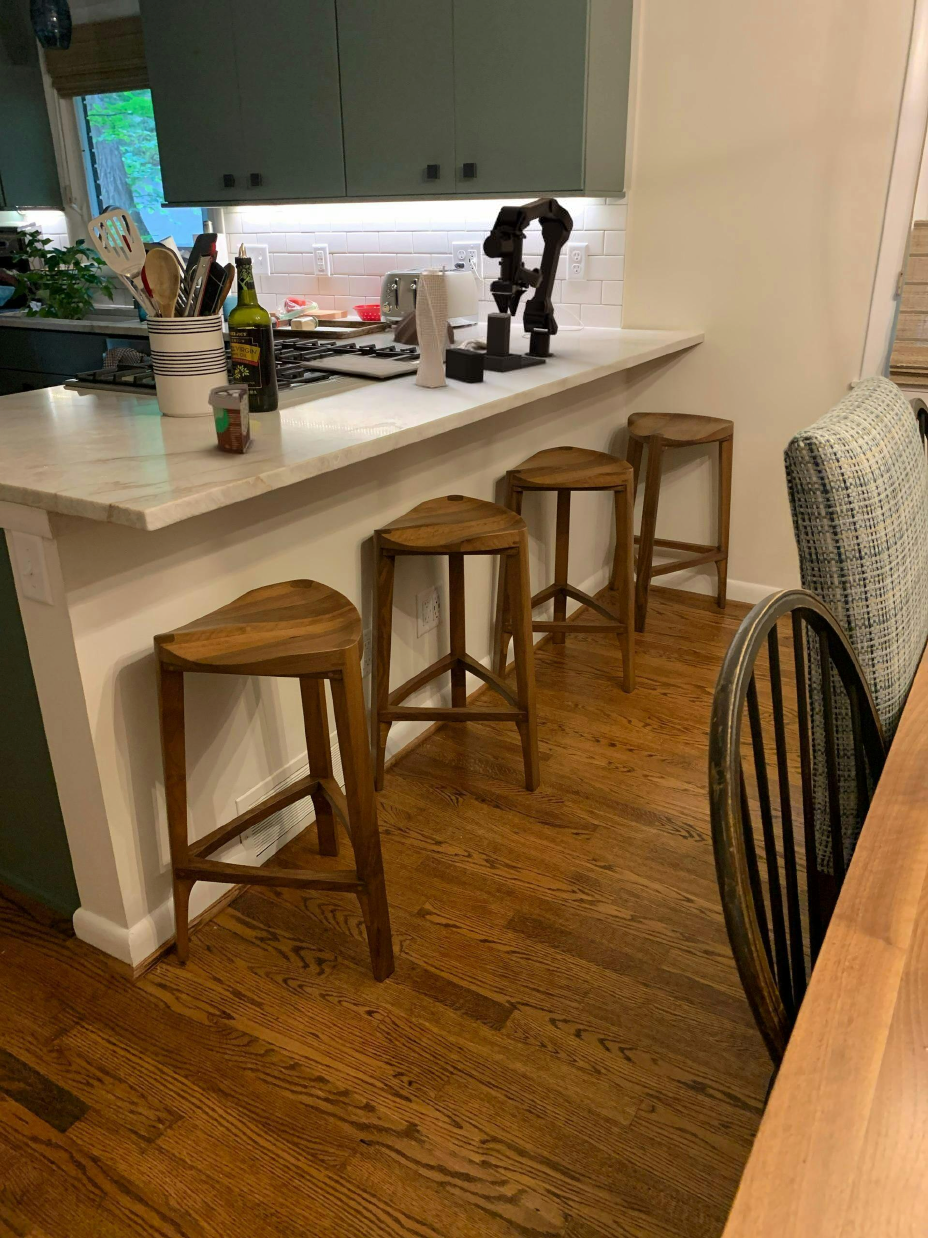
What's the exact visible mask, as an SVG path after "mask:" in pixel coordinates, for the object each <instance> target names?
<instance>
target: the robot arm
mask: <svg viewBox="0 0 928 1238" xmlns="http://www.w3.org/2000/svg"><path fill="white" fill-rule="evenodd" d="M537 219H538V220H537ZM534 220H537V222H538V223H539V225H540V227H541V233H540V234H541V237H542V240H543V243H544V245H543V250H542V255H541V260H540V265H539V268H538V267H534V268H533V269H530V268H526V267H525V266H526V264H525V261H523V252H524V251H523V250H524V240H526V239H527V238H528V237H527V235H526V234H525V232H524V230H526V229H527V228H528V227H529V226H530V225H531V222H532V221H534ZM573 228H574V220H573V218H572V216H571V214H570V212H569V210H568V209H566V208H565V207H563V206H562V205H561V204H560V203H559V202H558V200H557V198H554V197H540V198H538V199H536V200H533V201H531V202H528V203H524V204H522V205H503V206H502V207H501V208H500V210H499V211H498V214H497V216H496V218H495V221H494V224H493V226H492V229H490V231H489V234H488V236H486V238H485V239H484V241H483V243H482V250H483V254H484V255H485V257H487V258H489V259H500V260H498V266H500V269H499V270H500V271H499V273H500V274H499V277H497V279H496V280H493V281H492V282H491V283H490V284H489V292H490V293H491V296H492V297H493V300H494V302H495V304H496V308H497V311H498V313H509V314H511V318H512V317H516V314H517V312H518V307H519V304H520V301H521V298H522V297H523V295H525V293H526V292H528V289H530V287H531V288H533V289H535V290H534V294H533V296H532V297H531V298H530V299H527V300H526V302H525V305H524V311H523V312H522V313H523V315H522V324H523V332H524V333H525V334H527V333H528V334H529V346H528V352H524V355H526V356H533V357H539V358H545V357H549V356H554V354H555V353H554V352H550V348H551V347H550V346H551V336H556V335H557V334H558V330H559V326H558V323H557V321H556V318H555V316H554V313H555V307H554V305H553V302H552V295H553V290H554V285H555V281H556V276H557V270H558V267H559V261H560V257H561V252H562V248H563V247H564V246H565V245H566V243H567V242H568V241H569V240H570V236H571V233H572V231H573Z"/></svg>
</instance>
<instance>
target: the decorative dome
mask: <svg viewBox="0 0 928 1238" xmlns="http://www.w3.org/2000/svg"><path fill="white" fill-rule="evenodd" d="M447 323H448V324H449V326H448V338H449V341H450V345H453V344H454V342H455V331H454V328H453V326H452V325H451V323H450V322H449V320H447ZM393 342H395V343H398V344H402V345H410V346H411V345H413V346H419V342H418V335H417V327H416V309H413V310H412V311H410V312H408V313H407V314H406V315H405V316H403V317H402V318H401V319H400V320H399V321H398V323H397V324H396V326H395V329H394V337H393Z"/></svg>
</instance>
